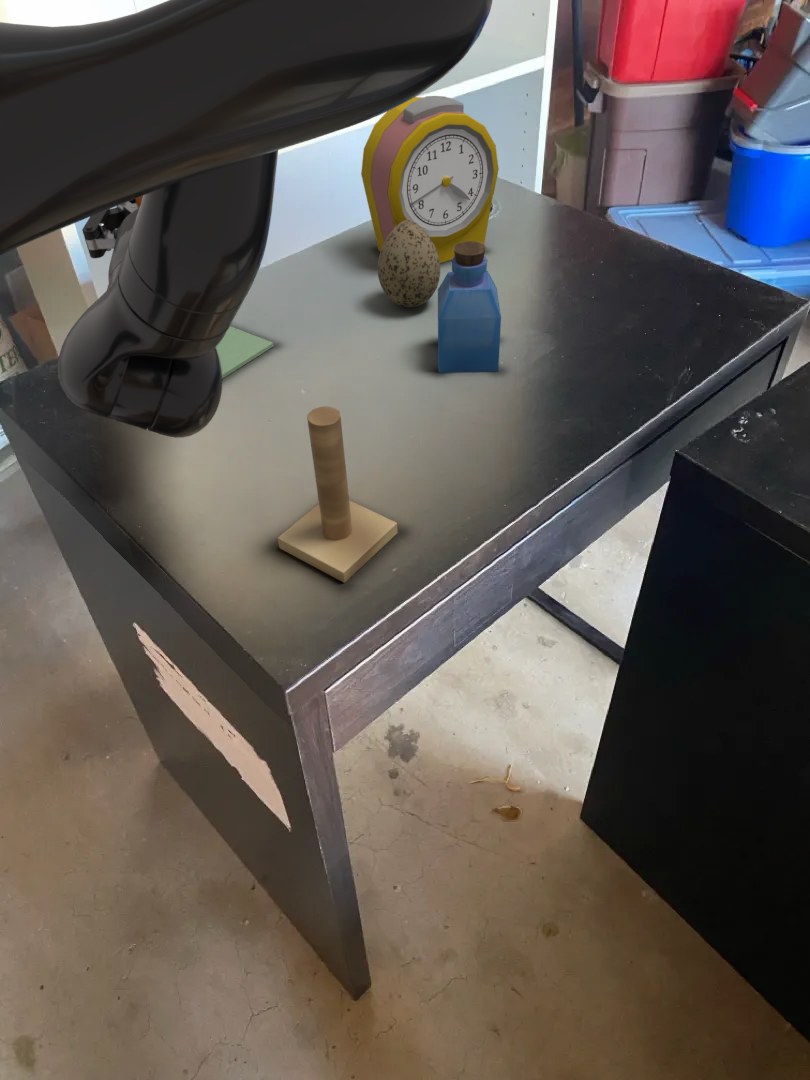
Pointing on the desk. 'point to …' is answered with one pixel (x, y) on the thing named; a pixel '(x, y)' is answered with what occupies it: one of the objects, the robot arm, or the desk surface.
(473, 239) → the alarm clock
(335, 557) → the stand
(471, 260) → the perfume bottle
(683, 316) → the desk surface
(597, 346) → the desk surface
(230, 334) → the mat
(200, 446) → the desk surface
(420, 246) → the decorative egg
